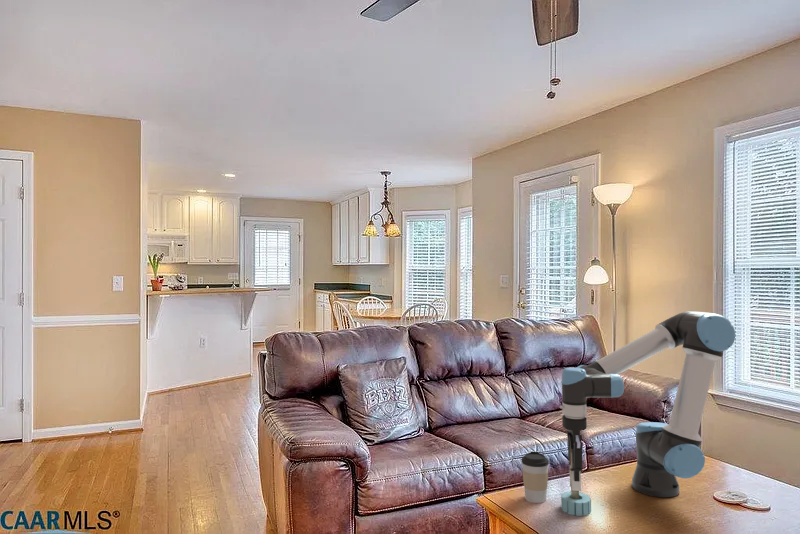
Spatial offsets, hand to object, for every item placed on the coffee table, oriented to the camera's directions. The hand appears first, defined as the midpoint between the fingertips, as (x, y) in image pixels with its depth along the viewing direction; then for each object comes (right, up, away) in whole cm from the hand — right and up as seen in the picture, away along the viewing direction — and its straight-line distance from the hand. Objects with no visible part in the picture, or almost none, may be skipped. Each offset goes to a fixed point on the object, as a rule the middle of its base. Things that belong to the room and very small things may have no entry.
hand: (575, 488), depth 171 cm
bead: (0, -7, 0) cm, 7 cm away
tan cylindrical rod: (0, -3, 0) cm, 3 cm away
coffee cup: (-11, -7, +8) cm, 15 cm away
